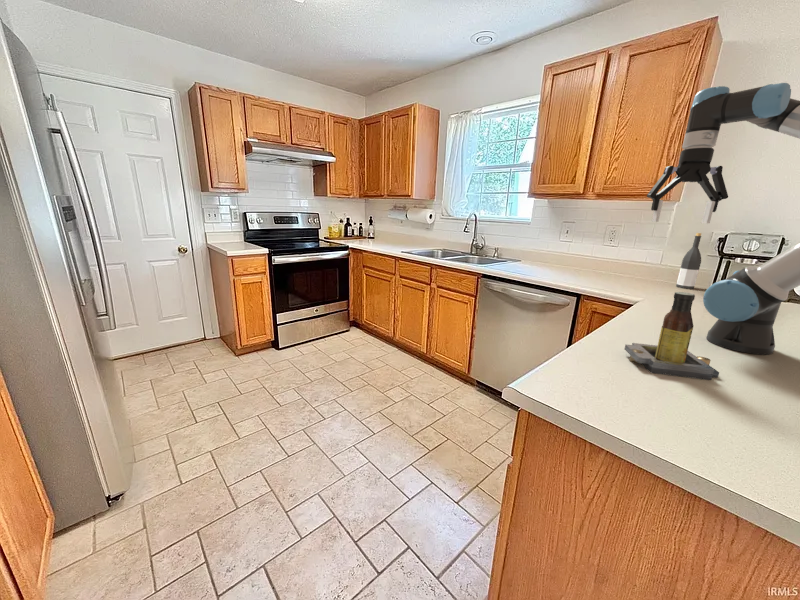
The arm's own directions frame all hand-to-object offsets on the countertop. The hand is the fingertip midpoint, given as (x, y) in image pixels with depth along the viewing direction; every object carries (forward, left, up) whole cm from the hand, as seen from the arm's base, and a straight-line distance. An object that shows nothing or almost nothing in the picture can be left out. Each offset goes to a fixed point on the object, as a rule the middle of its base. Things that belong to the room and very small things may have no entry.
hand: (679, 222), depth 105 cm
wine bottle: (-53, -91, -37) cm, 112 cm away
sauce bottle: (+8, +28, -37) cm, 47 cm away
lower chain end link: (+7, +28, -37) cm, 47 cm away
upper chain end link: (+9, +28, -37) cm, 47 cm away
